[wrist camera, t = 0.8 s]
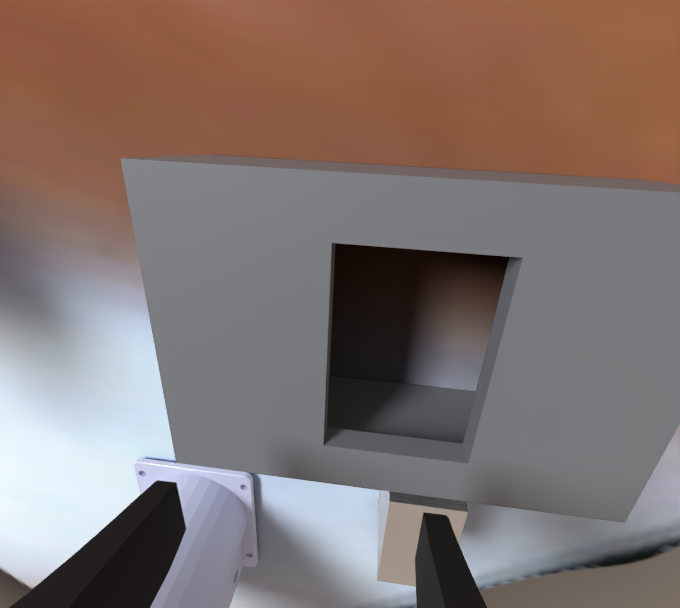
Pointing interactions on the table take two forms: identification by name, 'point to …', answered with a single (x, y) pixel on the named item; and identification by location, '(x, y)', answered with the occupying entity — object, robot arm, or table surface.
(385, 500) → the cream block
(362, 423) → the grey tissue box
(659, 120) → the table surface
